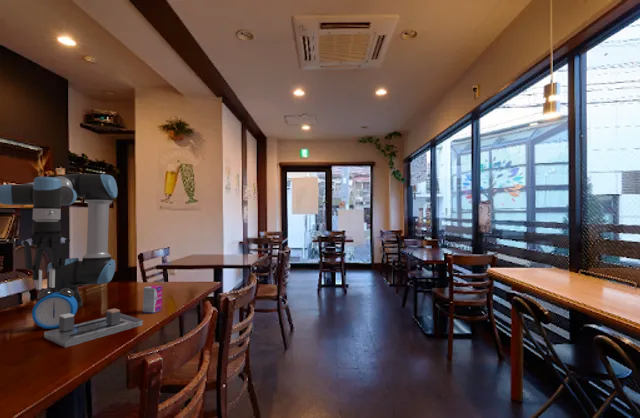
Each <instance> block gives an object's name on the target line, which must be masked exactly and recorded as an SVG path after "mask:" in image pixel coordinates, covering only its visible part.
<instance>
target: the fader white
mask: <svg viewBox="0 0 640 418" xmlns="http://www.w3.org/2000/svg"><path fill="white" fill-rule="evenodd" d="M74 325H75V315H73V314H70V313H67V314H63V315H59V327H58V329H60V330H62V331H67V330H71V329H74Z"/></svg>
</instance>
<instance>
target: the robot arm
mask: <svg viewBox="0 0 640 418" xmlns="http://www.w3.org/2000/svg"><path fill="white" fill-rule="evenodd" d="M117 197H118V186H117V181H116V179H115V178H114V176H113V175H110V174H103V173H70V174H63V175H59V176H54V177H52V176H36V177H35V178H34V179H33V182H27V183H21V184H18V183H17V184H15V183H9V184H5V183H4V184H1V185H0V203H1V204H2V205H7V206H9V205H11V206H15V205H16V206H18V205H19V206H32V220H33V222H32V229H31V230H32V231H31V233H32V234H31V236H30V237H29V238H28V239H26V240H21V241H20V244H21V246H22V247H23V254H24V255H23V257H24V264H25V265H24V266H25V269H26V270H29V271H32V280H33V281H35V290H37V291H42V290H43V288H42V287H43V285H42V284H43V270H42V269H40V267H41V263H42V259H43V253H44V251H45V248H48V252H49V257H50V258H49V259H50V262H49V263H48V264H47V270H46V289H50V290H52V291H53V292H52V293H54V292H59V291H60V290H61V289H63V288H70V289H72V290H73V291H74V295H73V297H74V298H75V299H76V301H77V304H78V308H77V309H79V308H81V307H83V299H82V297H81V294H80V290H79V286H85V285H88V286H89V285H98V286H99V285H102V284H103V285H104V284H108V283H110V282H111V281H112V279H113V278H114V275H115V272H116V260H115V259H112V255H111V254H110V253H109V252H108V251H109V250H108V249H109V248H108V247H109V222H110V221H109V219H110V217H109V216H110V205H111V204H112V203H113V201H114V199H116V198H117ZM77 198H84V199H83V200H84V202H85V203H86V204H87V228H86V229H87V230H86V231H87V232H86V253H85V254H84V255H83V256H82V259H81V260H80V259H79V257H70V258H67V253H68V251H67V250H68V246H69V243H70V241H71V239H70V238H66V237H63V236H62V234H61V225H62V224H61V221H60V220H61V218H62V217H61V215H62V214H61V211H62V210H61V209H62V208H61V207H62V206H63V207H65V206H71V205H72V204H75V202H76V201H77V200H78V199H77ZM59 242H60V246H59V253H57V244H58V243H59ZM32 243H33V244H34V245H35V253H34V257H33V255H32ZM58 254H59V255H58ZM54 290H58V291H54ZM50 294H51V293H50ZM48 295H49V294H48Z"/></svg>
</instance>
